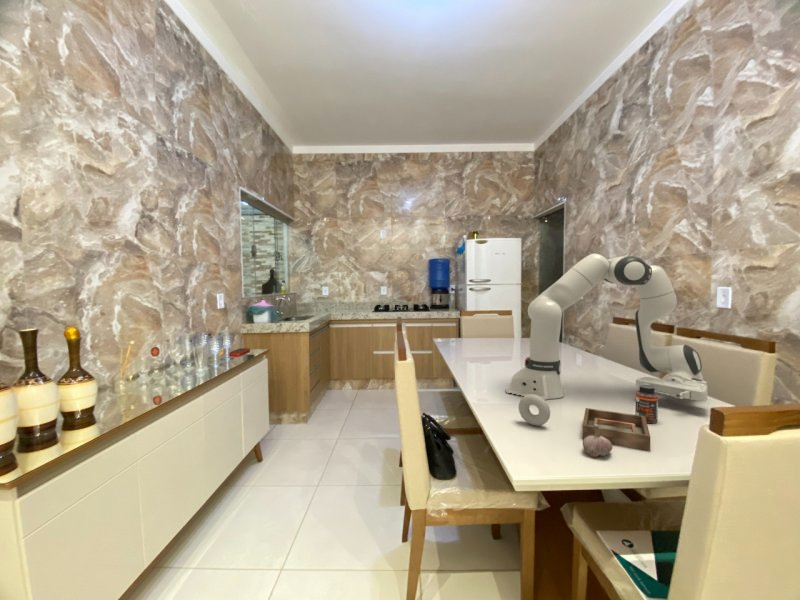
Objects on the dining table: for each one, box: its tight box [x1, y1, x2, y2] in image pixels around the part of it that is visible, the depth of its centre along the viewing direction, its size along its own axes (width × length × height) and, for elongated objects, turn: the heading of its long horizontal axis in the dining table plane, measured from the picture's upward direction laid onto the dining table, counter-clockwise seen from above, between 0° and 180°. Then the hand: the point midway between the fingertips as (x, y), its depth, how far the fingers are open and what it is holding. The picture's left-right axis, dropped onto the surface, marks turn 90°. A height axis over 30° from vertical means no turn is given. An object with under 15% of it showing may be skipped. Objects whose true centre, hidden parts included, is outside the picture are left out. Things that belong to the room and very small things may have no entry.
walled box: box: [582, 407, 651, 452], centre depth 103 cm, size 16×16×4 cm
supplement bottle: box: [634, 385, 659, 425], centre depth 112 cm, size 6×6×11 cm
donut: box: [518, 394, 551, 427], centre depth 111 cm, size 10×4×10 cm, turn 48°
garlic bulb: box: [582, 424, 613, 458], centre depth 92 cm, size 8×7×8 cm
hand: (661, 392), depth 119 cm, fingers open, 8 cm apart
